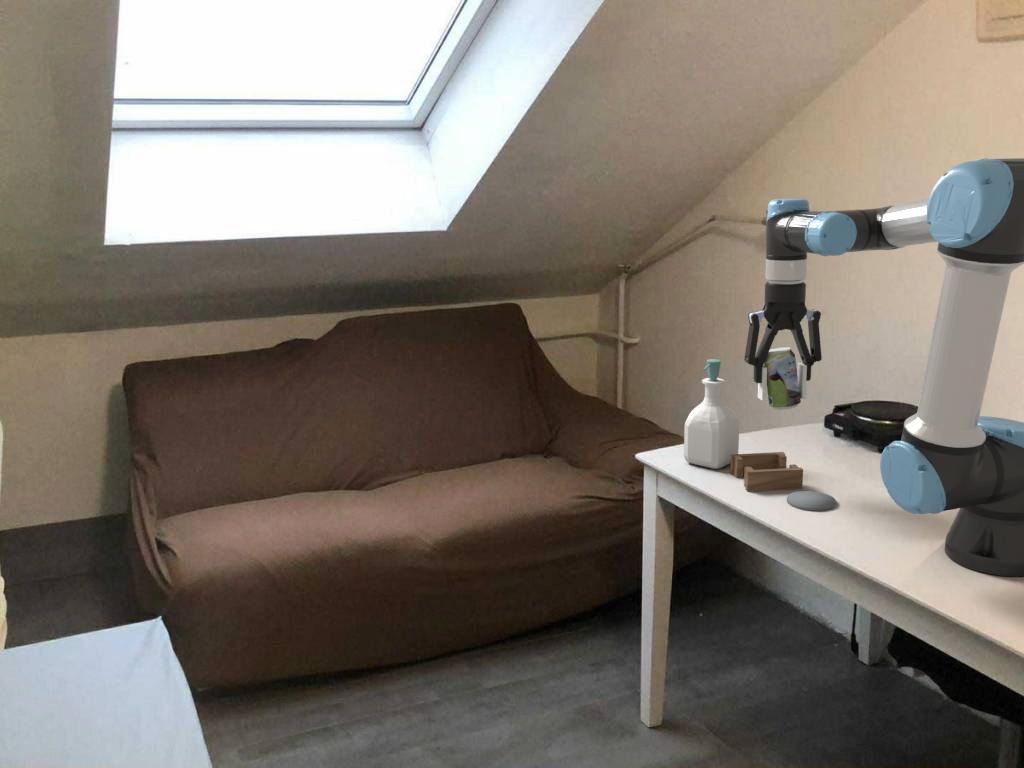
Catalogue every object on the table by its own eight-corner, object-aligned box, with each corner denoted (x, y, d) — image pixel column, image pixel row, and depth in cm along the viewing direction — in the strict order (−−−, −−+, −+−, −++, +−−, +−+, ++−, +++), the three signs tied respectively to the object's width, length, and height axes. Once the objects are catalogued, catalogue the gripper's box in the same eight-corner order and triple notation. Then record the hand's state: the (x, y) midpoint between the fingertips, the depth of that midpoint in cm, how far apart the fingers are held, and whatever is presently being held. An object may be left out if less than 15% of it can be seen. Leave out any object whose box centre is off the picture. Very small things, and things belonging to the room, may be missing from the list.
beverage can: (801, 412, 185) (804, 351, 182) (762, 411, 186) (764, 351, 183) (799, 404, 191) (801, 345, 188) (760, 403, 192) (762, 344, 189)
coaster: (843, 509, 180) (843, 506, 179) (796, 512, 179) (797, 509, 179) (824, 492, 188) (824, 489, 188) (779, 495, 188) (780, 492, 187)
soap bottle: (679, 463, 207) (681, 360, 202) (703, 452, 214) (705, 352, 209) (719, 472, 201) (722, 367, 195) (742, 461, 208) (745, 358, 202)
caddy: (802, 488, 191) (803, 469, 190) (747, 491, 190) (747, 472, 189) (782, 470, 202) (783, 451, 201) (730, 472, 201) (730, 454, 200)
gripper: (828, 276, 187) (823, 391, 192) (727, 281, 186) (725, 396, 191) (844, 281, 180) (839, 400, 185) (740, 285, 178) (737, 405, 183)
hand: (781, 397), depth 188 cm, fingers closed on beverage can, 7 cm apart
